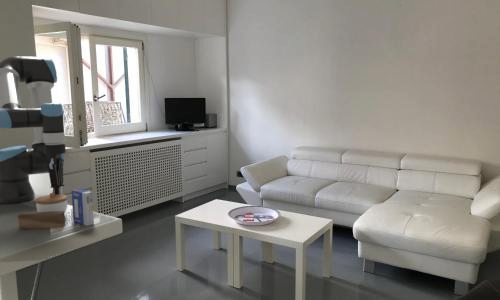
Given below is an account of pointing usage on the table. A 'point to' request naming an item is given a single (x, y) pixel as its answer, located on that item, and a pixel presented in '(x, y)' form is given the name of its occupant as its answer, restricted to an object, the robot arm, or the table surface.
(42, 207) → the lidded jar
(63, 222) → the bar
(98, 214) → the table surface
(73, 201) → the walkman
